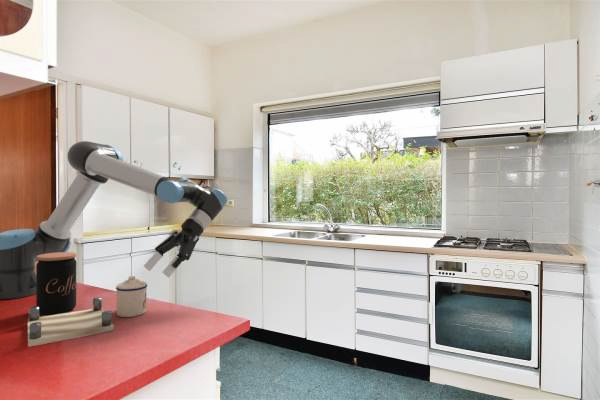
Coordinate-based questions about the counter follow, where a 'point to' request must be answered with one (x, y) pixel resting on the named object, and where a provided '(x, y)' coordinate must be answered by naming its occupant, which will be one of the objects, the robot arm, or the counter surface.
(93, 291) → the counter surface
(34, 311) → the set of grey pegs
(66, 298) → the coffee jar
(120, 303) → the teacup with lid
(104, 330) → the birch board
